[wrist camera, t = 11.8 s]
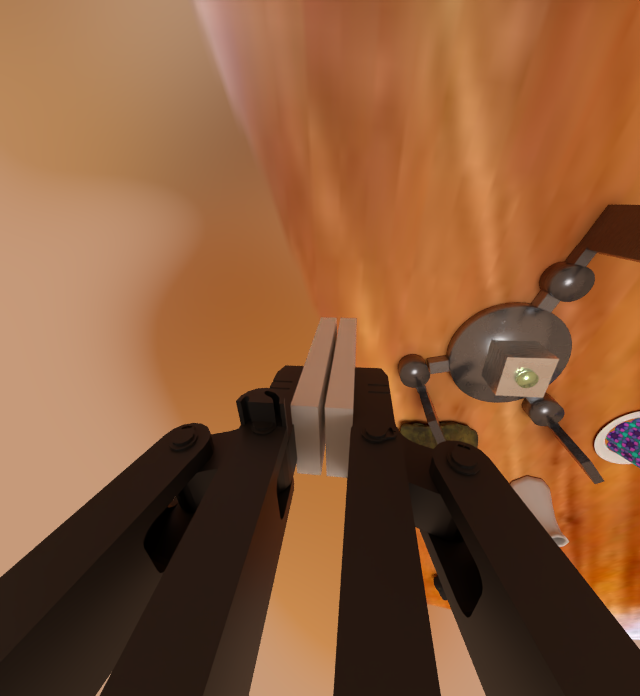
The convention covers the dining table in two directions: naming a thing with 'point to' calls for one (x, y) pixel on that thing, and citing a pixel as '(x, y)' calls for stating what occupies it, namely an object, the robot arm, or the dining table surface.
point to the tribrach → (537, 332)
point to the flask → (540, 505)
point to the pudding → (620, 441)
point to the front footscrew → (420, 389)
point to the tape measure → (439, 588)
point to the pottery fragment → (450, 430)
